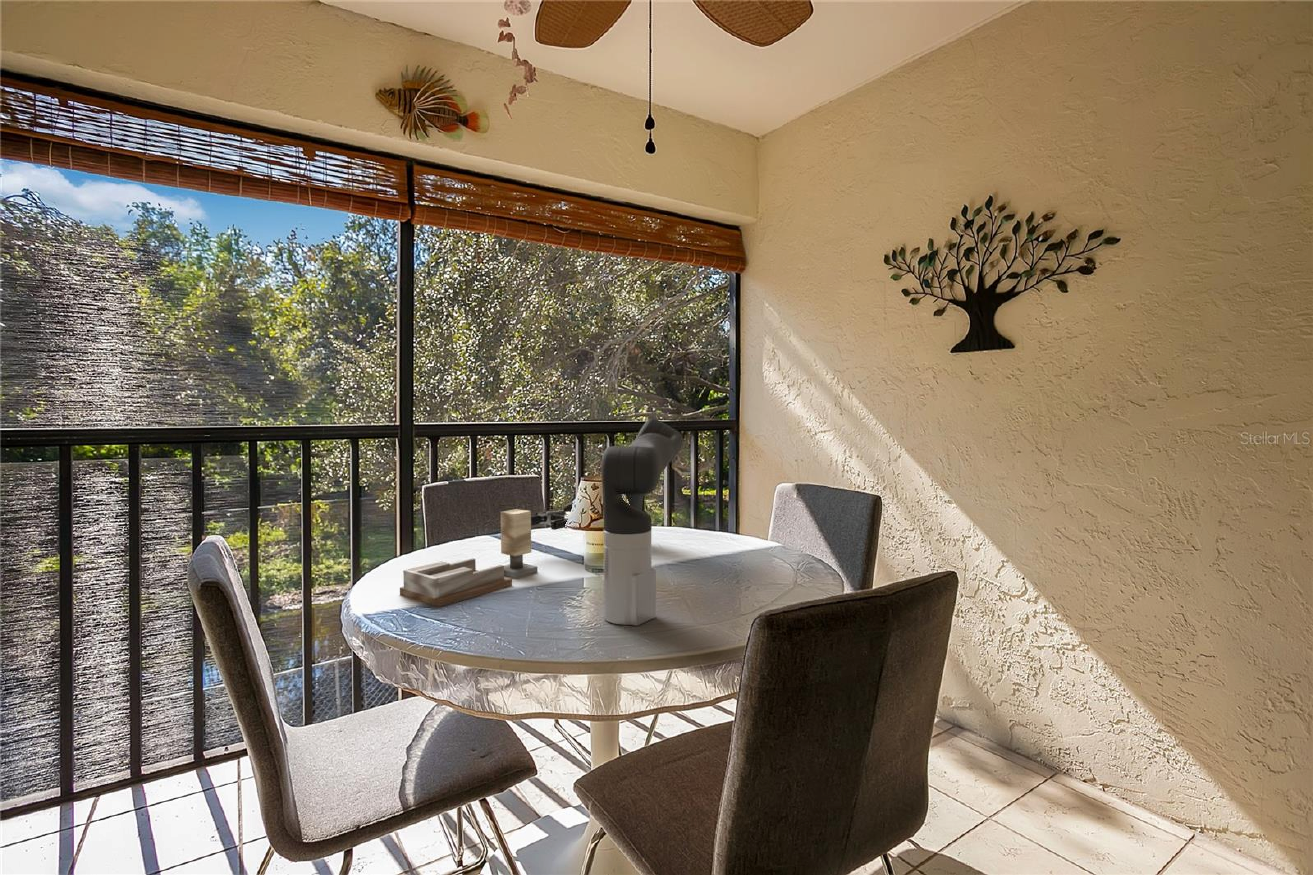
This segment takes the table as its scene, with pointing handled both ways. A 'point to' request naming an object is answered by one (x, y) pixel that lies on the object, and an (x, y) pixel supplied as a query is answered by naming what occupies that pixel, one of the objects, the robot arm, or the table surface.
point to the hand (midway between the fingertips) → (540, 523)
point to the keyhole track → (451, 582)
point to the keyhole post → (516, 542)
